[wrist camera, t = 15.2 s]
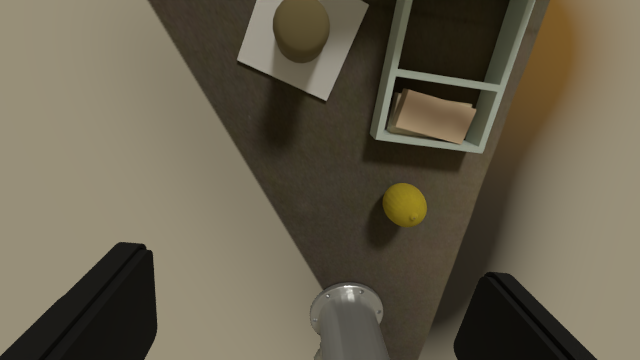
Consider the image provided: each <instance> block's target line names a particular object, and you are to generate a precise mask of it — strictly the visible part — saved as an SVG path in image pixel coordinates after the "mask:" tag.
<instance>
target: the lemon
mask: <svg viewBox="0 0 640 360" xmlns="http://www.w3.org/2000/svg"><path fill="white" fill-rule="evenodd" d="M383 208H384V211H385V213H386V215H387V216H388V218H389V219H390V220H391V221H393V222H394V223H395V224H397V225H399V226H402V227H412V226H415V225H417V224H419V223H420V222H421V221H422V220H423V219H424V217H425V215H426V211H427V205H426V201H425V199H424V196H423V195H422V193H421V192H420V191H419V190H418V189H417V188H416V187H414V186H412V185H410V184H407V183H398V184H395V185H392V186H391V187H390V188H388V189H387V191H386V192H385V194H384V196H383Z"/></svg>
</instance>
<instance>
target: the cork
mask: <svg viewBox="0 0 640 360" xmlns="http://www.w3.org/2000/svg"><path fill="white" fill-rule="evenodd" d="M273 33H274V36H275V39H276V42H277V46H278V48H279V50H280V51H281V53H282V54H283V55H284V56H285V57H286V58H287V59H288V60H291V61H293V62H295V63H307V62H311V61H312V60H314V59H315V58H317V57H318V56H319V54H320V53H321V52H322V50H323V48H324V46H325V44H326V42H327V40H328V37H329V33H330V22H329V16H328V14H327V12H326V10H325V8H324V6H323V5H322V4H321V3H320V2H319V1H318V0H283V1H282V2H281V3H280V5H279V6H278V7H277V9H276V11H275V14H274V17H273Z"/></svg>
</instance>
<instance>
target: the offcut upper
mask: <svg viewBox="0 0 640 360" xmlns="http://www.w3.org/2000/svg"><path fill="white" fill-rule="evenodd" d="M476 110H477V109H473V108H470V107H466V106H463V105H460V104H456V103H453V102H449V101H446V100H443V99H439V98H436V97H432V96H429V95H426V94H422V93H419V92H415V91H412V90H409V89H404V88H403V91H402V94H401V97H400V100H399V103H398V105H397V108H396V111H395V114H394V117H393V120H392V122H391V124H392V125H394V126H395V127H398V128H402V129H406V130H409V131H413V132H417V133H420V134H424V135H428V136H432V137H435V138H439V139H443V140H446V141H450V142H454V143H457V144H462V142H463V140H464V137H465V135H466V133H467V131H468V128H469V126H470V124H471V122H472V119H473V117H474V115H475V113H476Z"/></svg>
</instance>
